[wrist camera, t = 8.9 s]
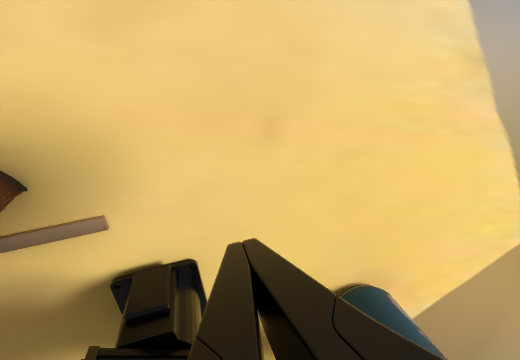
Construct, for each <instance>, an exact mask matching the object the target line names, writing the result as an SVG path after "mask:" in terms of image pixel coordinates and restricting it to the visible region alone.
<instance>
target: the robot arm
mask: <svg viewBox="0 0 520 360" xmlns="http://www.w3.org/2000/svg"><path fill="white" fill-rule="evenodd" d="M190 265H193V267H189V266H190ZM116 284H120V285H116ZM110 288H111V291H112V293H113V295H114V297H115V299H116V302H117V304H118V306H119V308H120V311H121V313H122V315H123V317H122V321H121V325H120V329H119V333H118V337H117V341H116V345H115V348H100V346H90V347H89V349H88V352H87V354H86V357H85V359H81V360H264V354H263V346H262V339H261V331H260V324H259V318H260V320H261V323H262V326H263V328H264V331H265V333H266V336H267V338H268V341H269V343H270V346H271V348H272V351H273V353H274V356H275V358H276V360H444V359H443V358H441V357H439V356H437V355H436V354H434V353H432V352H430V351H428V350H427V349H425V348H423V347H421V346H419V345H418V344H416V343H414V342H412V341H411V340H409V339H407V338H405V337H403V336H402V335H400V334H398V333H396V332H395V331H393V330H391V329H389V328H388V327H386V326H384V325H383V324H381V323H379V322H377V321H376V320H374V319H372V318H371V317H369V316H367V315H366V314H364V313H363V312H361V311H360V310H358V309H357V308H355V307H354V306H352V305H351V304H349V303H348V302H346V301H345V300H344V299H342V298H341V297H339V296H337V297H336V294H335V293H333V292H332V291H330V290H329V289H328V288H326V287H325V286H323V285H322V284H320V283H319V282H317V281H316V280H315V279H313V278H312V277H310V276H309V275H307V274H306V273H305V272H303V271H302V270H300V269H299V268H297V267H296V266H294V265H293V264H292V263H290V262H289V261H287V260H286V259H284V258H283V257H282V256H280V255H279V254H277V253H276V252H274V251H273V250H272V249H270V248H269V247H267V246H266V245H264V244H263V243H261V242H260V241H259V240H257V239H255V238H252V239H248V240H244V241H243V242H242V243H241V242H236V243H232V244H229V245H228V246H227V248H226V251H225V254H224V257H223V260H222V262H221V265H220V268H219V271H218V274H217V277H216V279H215V282H214V285H213V288H212V291H211V294H210V296H209V299H208V302H207V298H206V294H205V291H204V287H203V283H202V279H201V275H200V271H199V267H198V264H197V262H196V261H195V260H187V261H183V262H179V263H175V264H171V265H166V266H162V267H158V268H154V269H150V270H146V271H142V272H138V273H134V274H130V275H126V276H122V277H118V278H115V279H114V280H112V283H111V286H110ZM258 315H259V318H258Z"/></svg>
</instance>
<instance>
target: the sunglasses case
mask: <svg viewBox="0 0 520 360" xmlns="http://www.w3.org/2000/svg"><path fill="white" fill-rule="evenodd" d="M24 191H27V188H26V187H24V186H23V185H22V184H21V183H20V182H18V181H17V180H15V179H14V178H12V177H11V176H9V175H7V174H5V173H4V172H2V171H0V212H1V211H2V210H3V209H4V208H5V207H6V206H7V205H8V204H9V203H10V202H11V201H12V200H13V199H14V198H15V197H16V196H17V195H20V194H21V193H22V192H24Z"/></svg>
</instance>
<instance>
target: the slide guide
mask: <svg viewBox="0 0 520 360" xmlns="http://www.w3.org/2000/svg"><path fill="white" fill-rule="evenodd" d="M108 229H109V226H108V224H107V221H106V219H105V216H100V217H95V218H90V219H85V220H80V221H75V222H71V223H66V224H61V225H56V226H51V227H47V228H42V229H37V230H32V231H27V232H22V233H18V234H13V235H8V236H3V237H0V253H4V252H8V251H13V250H17V249H22V248H27V247H31V246H36V245H41V244H45V243H50V242H54V241H59V240H64V239H68V238H73V237H77V236H82V235H87V234H91V233H96V232H100V231H105V230H108Z"/></svg>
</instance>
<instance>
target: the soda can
mask: <svg viewBox="0 0 520 360" xmlns="http://www.w3.org/2000/svg"><path fill="white" fill-rule="evenodd" d="M340 297H341V298H342V299H344V300H345V301H346V302H348V303H349V304H351V305H352V306H354V307H355V308H357V309H358V310H360V311H361V312H363V313H364V314H366V315H367V316H369V317H371V318H372V319H374V320H376V321H377V322H379V323H381V324H383V325H384V326H386V327H388V328H389V329H391V330H393V331H395V332H396V333H398V334H400V335H402V336H403V337H405V338H407V339H409V340H411V341H412V342H414V343H416V344H418V345H419V346H421V347H423V348H425V349H427V350H428V351H430V352H432V353H434V354H436V355H437V356H439V357H441V358H443V359H444V360H447V358H446V357H445V356H444V355H443V354H442V353H441V352H440V351H439V349H438V348H437V347H436V346H435V345H434V344H433V343H432V342H431V340H430V339H429V338H428V337H427V336H426V335H425V334H424V333H423V331H422V330H421V329H420V328H419V327H418V326H417V325H416V324H415V323H414V321H413V320H412V319H411V318H410V317H409V316H408V315H407V313H406V312H405V311H404V310H403V309H402V308H401V307H400V306H399V304H398V303H397V302H396V301H395V300H394V299H393V298H392V297H391V295H390V294H389V293H387V292H386V291H384V290H382V289H380V288H377V287H374V286H370V285H358V286H355V287H353V288H350V289H349V290H347V291H346V292H344V293H343V294H342V295H341V296H340Z"/></svg>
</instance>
